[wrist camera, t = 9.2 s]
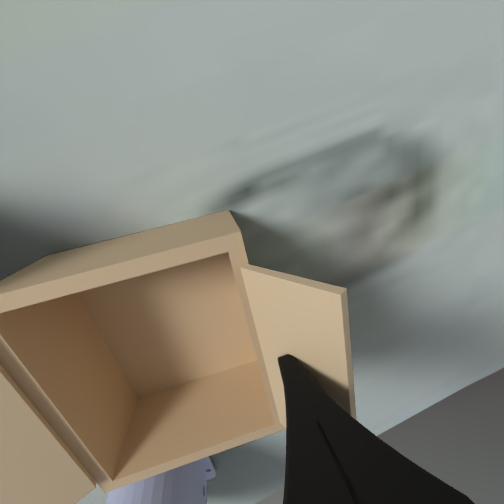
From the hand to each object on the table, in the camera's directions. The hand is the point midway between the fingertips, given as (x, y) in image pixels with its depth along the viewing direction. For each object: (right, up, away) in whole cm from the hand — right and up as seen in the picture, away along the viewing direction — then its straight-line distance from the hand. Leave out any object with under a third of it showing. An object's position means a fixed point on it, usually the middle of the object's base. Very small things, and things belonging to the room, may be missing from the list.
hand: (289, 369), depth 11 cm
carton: (-8, +1, +7) cm, 10 cm away
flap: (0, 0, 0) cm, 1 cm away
